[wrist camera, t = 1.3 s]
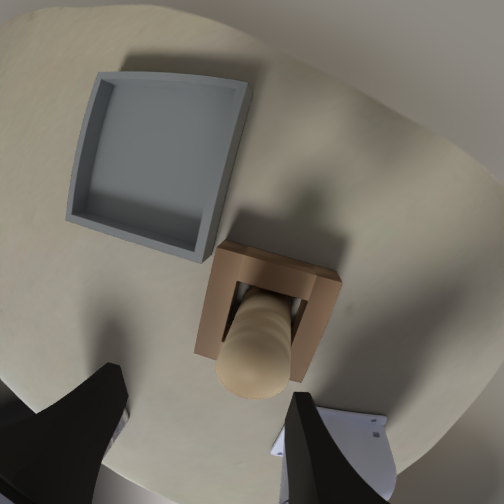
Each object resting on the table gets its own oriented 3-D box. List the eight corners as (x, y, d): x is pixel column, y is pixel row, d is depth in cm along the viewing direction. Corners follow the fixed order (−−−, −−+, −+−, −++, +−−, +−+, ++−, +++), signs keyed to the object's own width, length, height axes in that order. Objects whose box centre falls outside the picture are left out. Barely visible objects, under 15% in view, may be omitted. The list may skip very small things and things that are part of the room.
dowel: (297, 291, 20) (300, 352, 12) (282, 334, 21) (277, 406, 13) (248, 277, 20) (224, 331, 13) (236, 321, 21) (209, 387, 13)
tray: (253, 94, 17) (247, 82, 15) (211, 254, 20) (201, 263, 18) (114, 80, 18) (98, 72, 16) (84, 216, 21) (65, 220, 19)
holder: (336, 271, 19) (342, 282, 17) (300, 363, 21) (301, 382, 19) (225, 239, 20) (216, 247, 17) (203, 336, 22) (193, 353, 19)
